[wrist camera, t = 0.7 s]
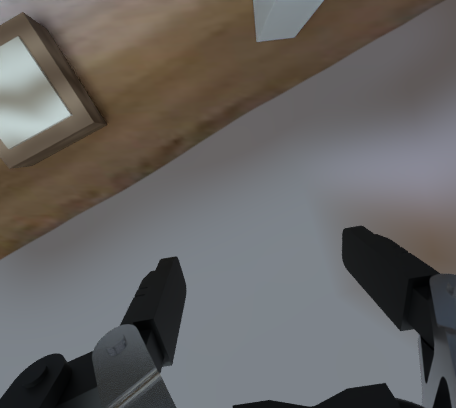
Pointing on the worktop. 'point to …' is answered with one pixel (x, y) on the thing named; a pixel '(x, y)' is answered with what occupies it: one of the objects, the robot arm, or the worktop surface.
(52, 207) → the worktop surface
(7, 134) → the plinth
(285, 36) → the milk
